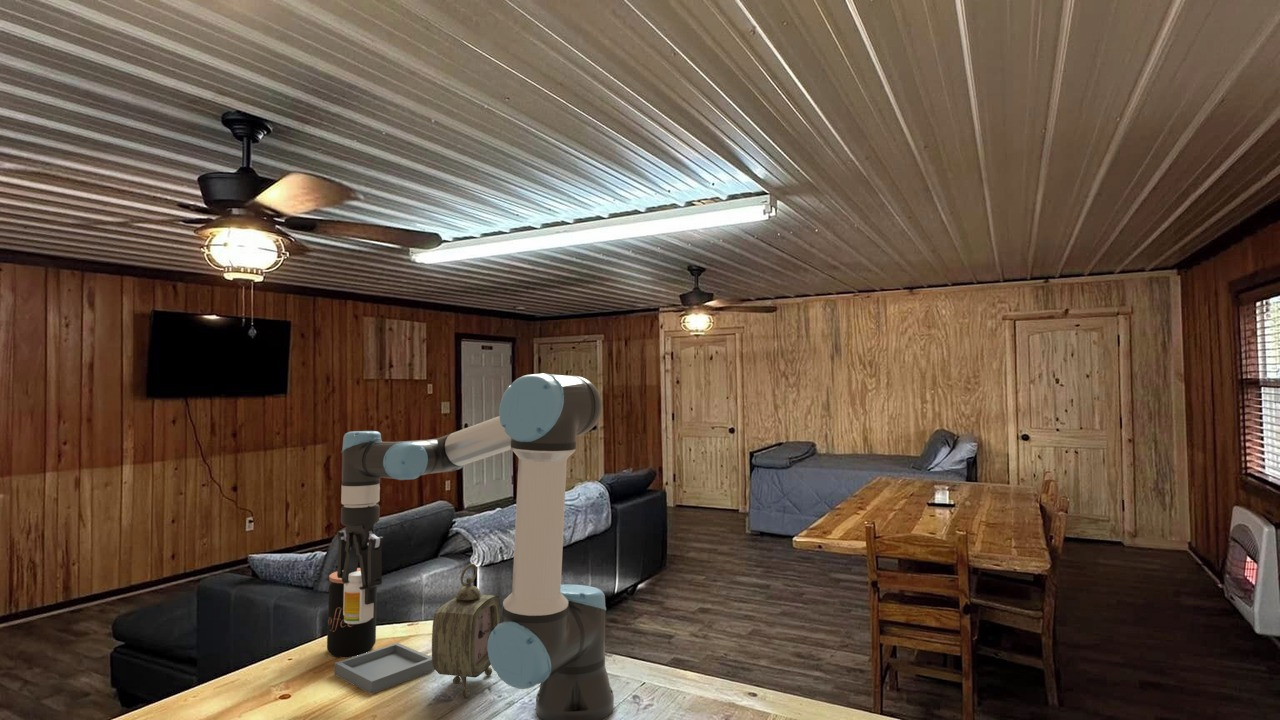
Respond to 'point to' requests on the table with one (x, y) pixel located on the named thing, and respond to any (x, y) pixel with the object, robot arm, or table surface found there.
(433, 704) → the table surface
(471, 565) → the tabletop clock
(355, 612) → the supplement bottle
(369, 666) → the tray
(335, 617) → the coffee jar
